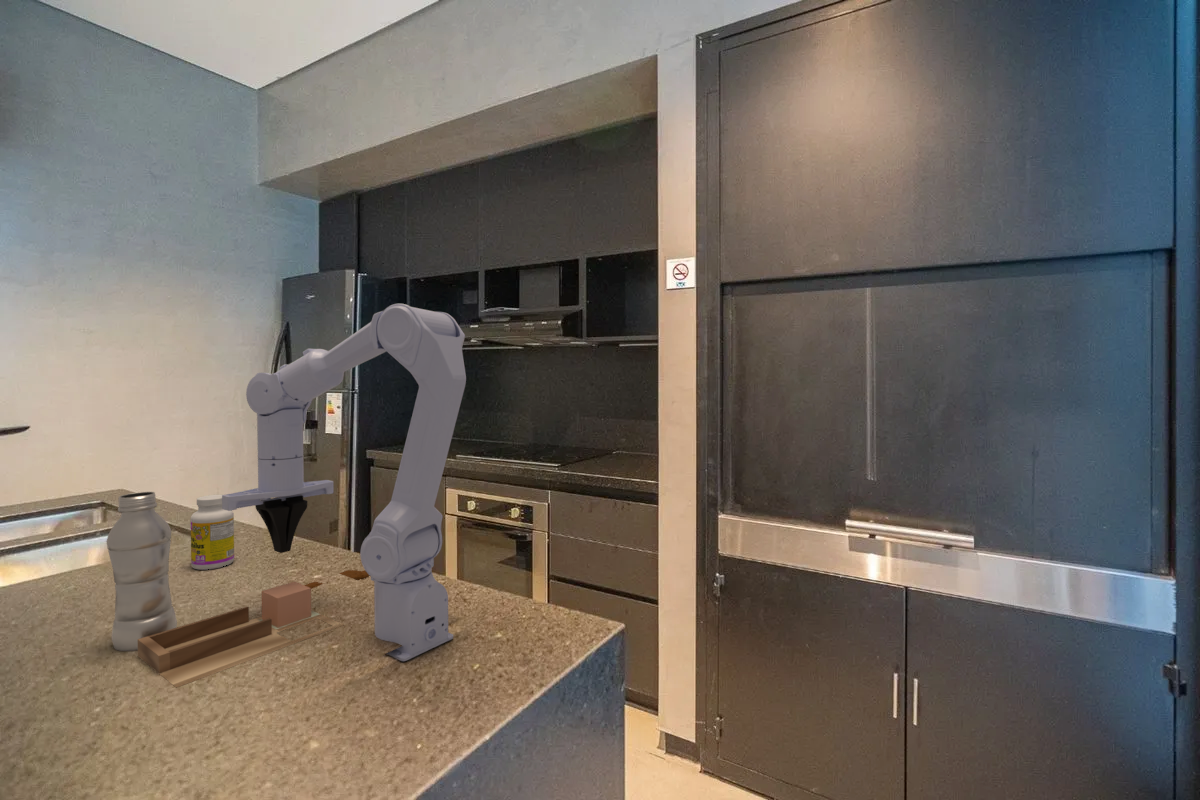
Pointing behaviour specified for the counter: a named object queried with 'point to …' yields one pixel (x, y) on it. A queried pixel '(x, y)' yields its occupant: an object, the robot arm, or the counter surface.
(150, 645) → the board
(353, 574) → the primitive tool
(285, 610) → the block
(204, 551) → the supplement bottle
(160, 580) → the plastic bottle
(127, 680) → the counter surface
